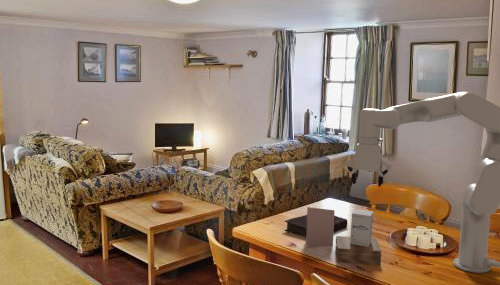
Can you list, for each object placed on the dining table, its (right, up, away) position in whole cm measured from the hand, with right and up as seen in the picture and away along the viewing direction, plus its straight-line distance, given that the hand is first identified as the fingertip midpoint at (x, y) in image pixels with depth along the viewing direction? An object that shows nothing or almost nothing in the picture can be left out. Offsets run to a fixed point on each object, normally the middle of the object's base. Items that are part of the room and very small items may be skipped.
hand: (366, 184), depth 184 cm
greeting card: (-17, -27, +14) cm, 35 cm away
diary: (-15, -24, +35) cm, 45 cm away
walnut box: (-3, -29, +3) cm, 29 cm away
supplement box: (-2, -23, +2) cm, 23 cm away
